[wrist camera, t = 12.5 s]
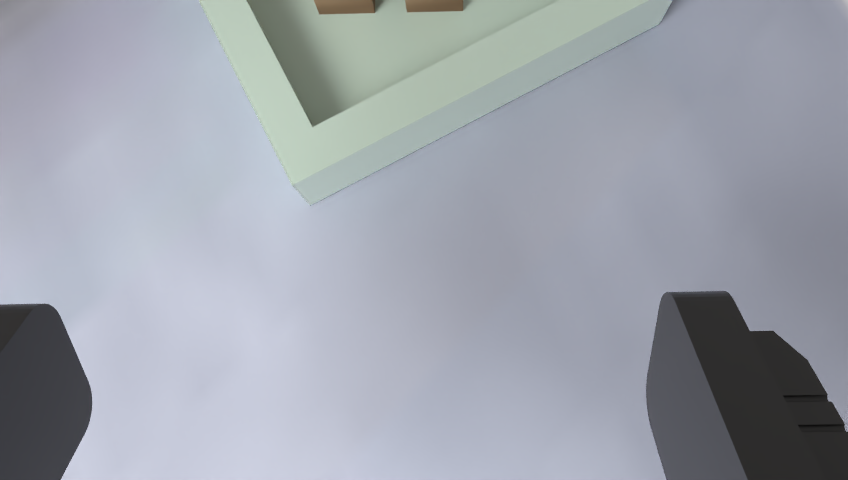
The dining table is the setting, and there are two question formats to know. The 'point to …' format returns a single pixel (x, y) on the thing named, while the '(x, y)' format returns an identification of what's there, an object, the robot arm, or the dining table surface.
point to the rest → (401, 71)
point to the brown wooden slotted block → (356, 3)
